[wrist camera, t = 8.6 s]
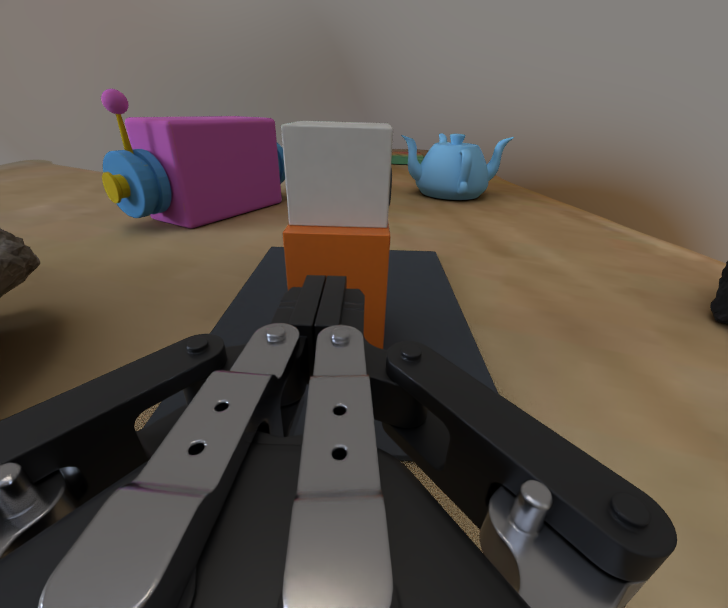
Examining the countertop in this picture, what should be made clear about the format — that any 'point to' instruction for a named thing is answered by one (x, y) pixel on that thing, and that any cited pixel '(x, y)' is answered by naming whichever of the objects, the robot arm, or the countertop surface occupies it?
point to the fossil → (14, 261)
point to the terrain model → (404, 157)
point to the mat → (402, 320)
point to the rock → (721, 298)
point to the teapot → (453, 168)
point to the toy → (192, 166)
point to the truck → (340, 209)
